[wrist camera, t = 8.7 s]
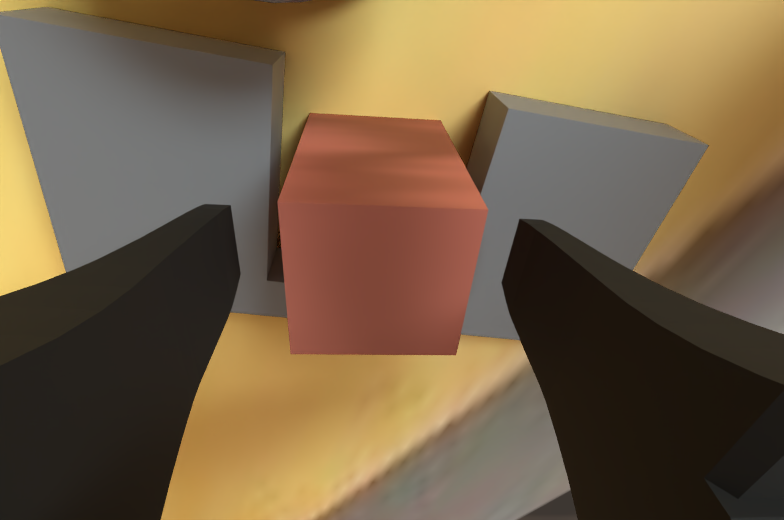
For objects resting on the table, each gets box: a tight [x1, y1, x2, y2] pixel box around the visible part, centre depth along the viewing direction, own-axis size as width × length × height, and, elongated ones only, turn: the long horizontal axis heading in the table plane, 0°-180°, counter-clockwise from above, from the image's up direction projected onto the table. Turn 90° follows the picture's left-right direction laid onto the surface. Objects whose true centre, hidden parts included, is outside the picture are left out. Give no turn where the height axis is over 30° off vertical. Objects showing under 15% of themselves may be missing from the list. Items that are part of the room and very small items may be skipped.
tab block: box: [277, 113, 488, 355], centre depth 12 cm, size 4×4×6 cm
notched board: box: [0, 7, 709, 340], centre depth 14 cm, size 18×8×2 cm, turn 79°
